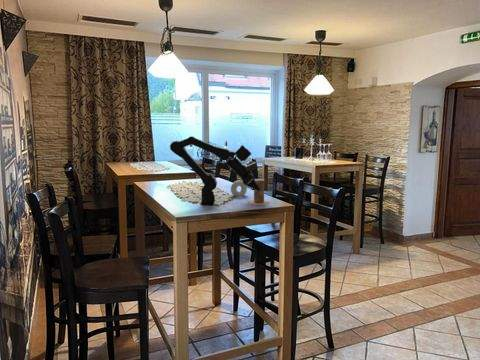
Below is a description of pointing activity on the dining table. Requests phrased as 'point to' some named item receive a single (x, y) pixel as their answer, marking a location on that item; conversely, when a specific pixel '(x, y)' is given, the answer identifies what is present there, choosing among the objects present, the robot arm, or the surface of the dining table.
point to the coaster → (258, 203)
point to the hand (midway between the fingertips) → (258, 188)
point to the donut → (234, 188)
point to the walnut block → (259, 194)
